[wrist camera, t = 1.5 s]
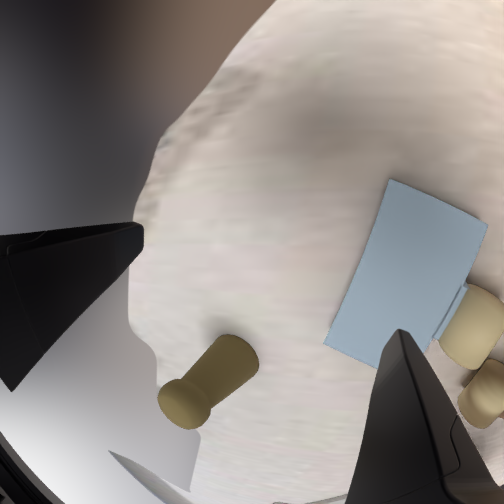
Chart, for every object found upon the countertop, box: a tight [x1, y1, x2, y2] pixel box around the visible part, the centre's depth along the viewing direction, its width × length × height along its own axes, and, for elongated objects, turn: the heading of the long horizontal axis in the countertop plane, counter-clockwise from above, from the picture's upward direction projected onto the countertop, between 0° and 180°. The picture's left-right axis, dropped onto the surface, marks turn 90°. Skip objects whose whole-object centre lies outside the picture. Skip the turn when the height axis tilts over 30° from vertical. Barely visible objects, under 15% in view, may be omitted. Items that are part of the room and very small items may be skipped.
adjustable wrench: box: [273, 494, 348, 504], centre depth 31 cm, size 25×6×2 cm, turn 141°
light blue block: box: [323, 179, 504, 370], centre depth 17 cm, size 14×13×5 cm
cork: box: [158, 334, 259, 429], centre depth 26 cm, size 6×6×11 cm
